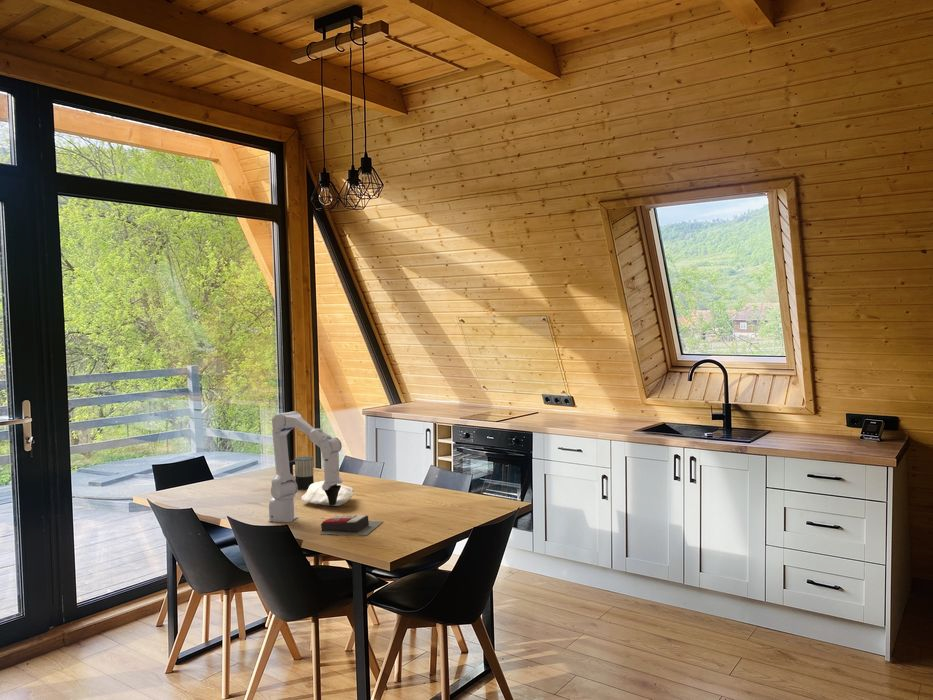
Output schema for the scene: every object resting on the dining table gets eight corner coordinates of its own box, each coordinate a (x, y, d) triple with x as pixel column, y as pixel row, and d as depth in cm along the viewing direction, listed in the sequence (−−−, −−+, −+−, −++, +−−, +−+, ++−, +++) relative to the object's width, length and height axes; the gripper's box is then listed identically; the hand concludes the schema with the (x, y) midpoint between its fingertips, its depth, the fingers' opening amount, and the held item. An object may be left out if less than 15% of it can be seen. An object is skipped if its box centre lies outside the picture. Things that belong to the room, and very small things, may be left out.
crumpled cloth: (339, 489, 350) (336, 471, 349) (375, 502, 322) (371, 481, 321) (293, 505, 337) (289, 486, 336) (326, 519, 309) (322, 498, 308)
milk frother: (316, 485, 368) (315, 456, 368) (309, 492, 352) (308, 461, 352) (288, 486, 368) (287, 456, 368) (279, 493, 353) (278, 462, 352)
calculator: (333, 514, 293) (368, 513, 288) (334, 525, 293) (369, 524, 288) (320, 521, 282) (355, 520, 278) (321, 532, 283) (356, 532, 278)
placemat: (320, 534, 278) (320, 533, 278) (340, 520, 298) (340, 520, 298) (366, 536, 274) (366, 535, 274) (383, 522, 294) (383, 521, 294)
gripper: (334, 473, 279) (335, 509, 279) (348, 466, 293) (349, 500, 294) (316, 473, 281) (317, 508, 281) (331, 466, 295) (332, 500, 295)
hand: (332, 504), depth 287 cm, fingers closed
